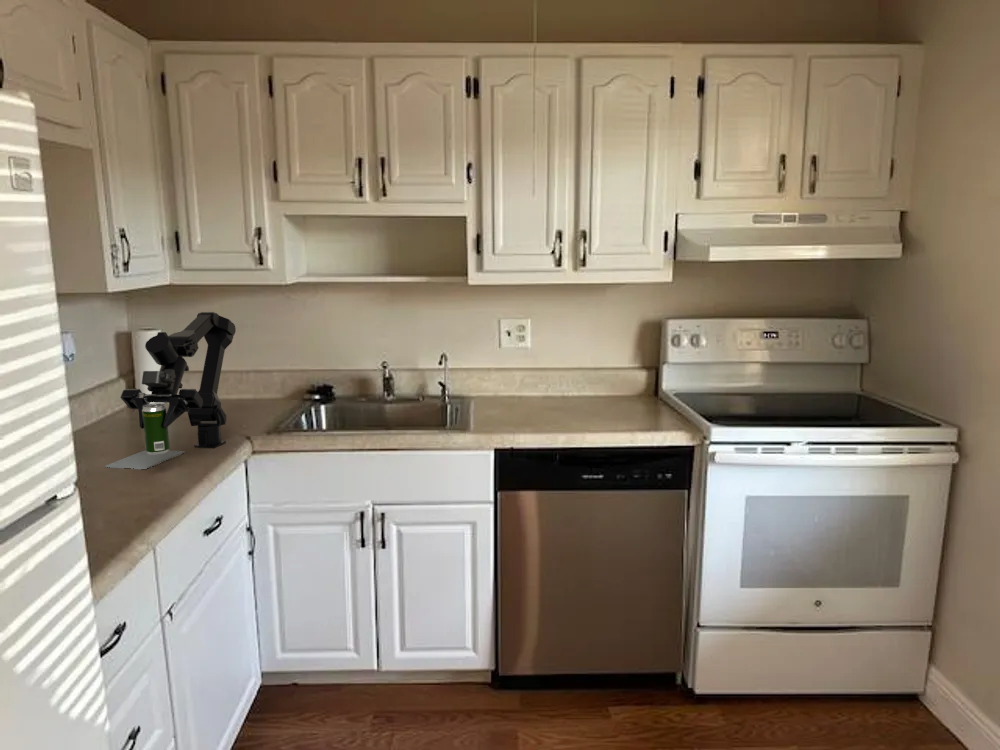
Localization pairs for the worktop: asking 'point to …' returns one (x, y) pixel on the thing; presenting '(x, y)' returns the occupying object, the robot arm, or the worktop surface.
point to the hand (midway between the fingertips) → (152, 427)
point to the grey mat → (143, 460)
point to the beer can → (155, 429)
